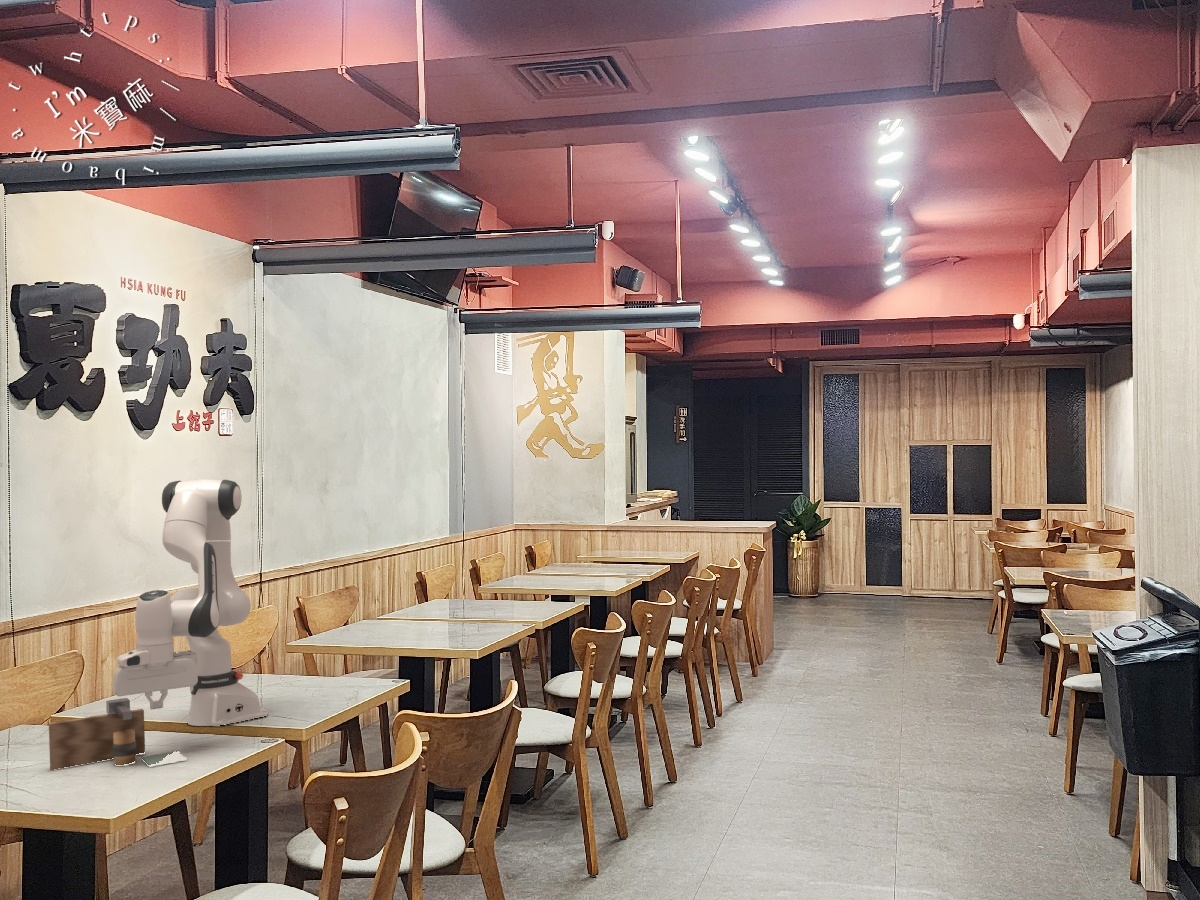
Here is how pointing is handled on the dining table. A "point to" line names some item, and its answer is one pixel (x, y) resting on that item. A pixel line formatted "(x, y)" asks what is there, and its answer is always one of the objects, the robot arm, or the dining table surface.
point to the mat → (155, 758)
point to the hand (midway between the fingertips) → (156, 708)
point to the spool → (124, 747)
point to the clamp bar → (119, 708)
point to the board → (91, 738)
